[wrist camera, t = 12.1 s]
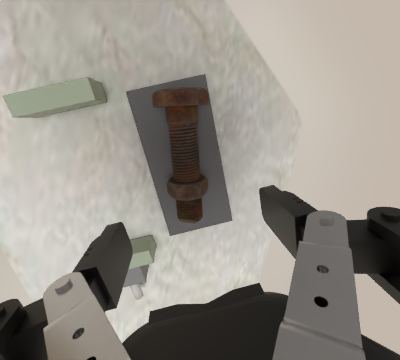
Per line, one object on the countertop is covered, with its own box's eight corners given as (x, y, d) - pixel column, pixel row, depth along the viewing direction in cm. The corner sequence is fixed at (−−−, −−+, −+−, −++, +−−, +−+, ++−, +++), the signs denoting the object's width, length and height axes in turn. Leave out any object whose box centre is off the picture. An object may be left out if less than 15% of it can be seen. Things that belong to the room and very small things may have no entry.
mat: (127, 92, 23) (126, 91, 23) (204, 75, 23) (204, 74, 23) (170, 233, 29) (170, 235, 28) (231, 218, 29) (232, 220, 29)
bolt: (183, 206, 29) (173, 92, 24) (216, 211, 27) (213, 89, 22) (160, 227, 24) (141, 90, 19) (199, 235, 22) (189, 85, 17)
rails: (28, 98, 22) (2, 95, 19) (100, 82, 23) (87, 77, 19) (115, 291, 31) (108, 312, 28) (167, 278, 31) (165, 297, 28)
